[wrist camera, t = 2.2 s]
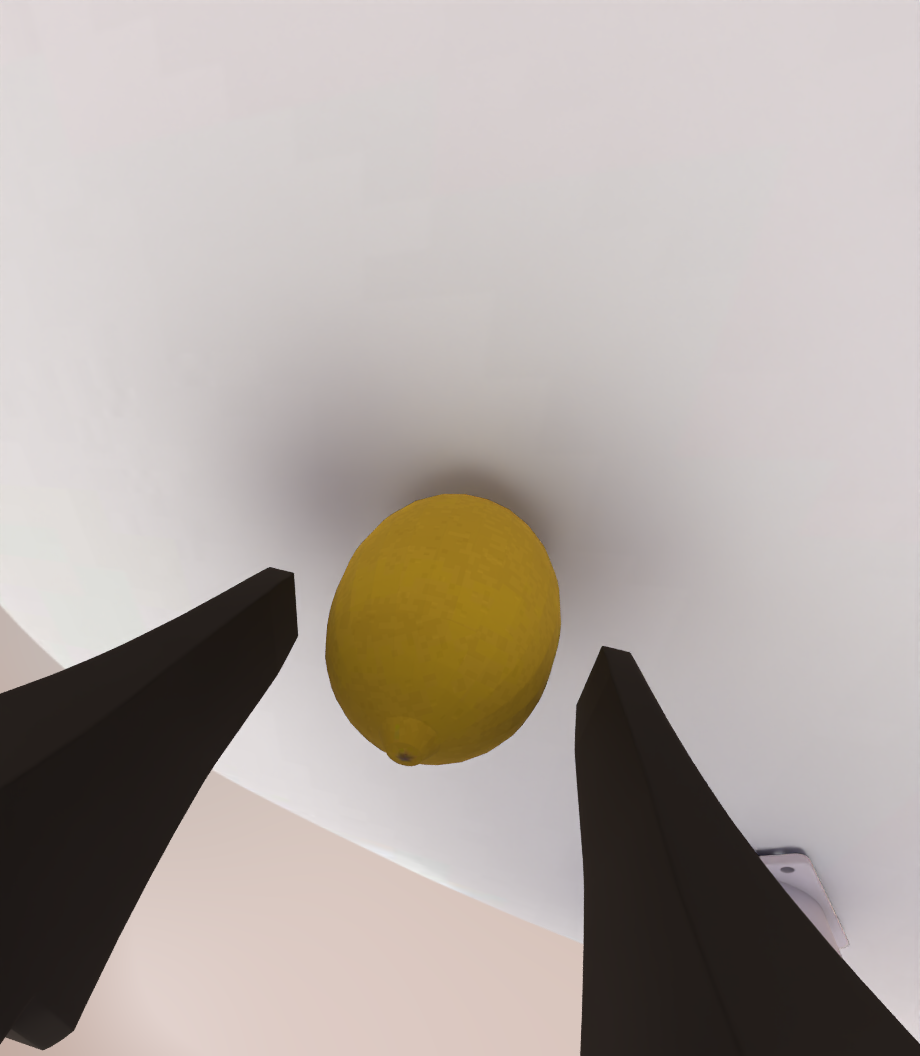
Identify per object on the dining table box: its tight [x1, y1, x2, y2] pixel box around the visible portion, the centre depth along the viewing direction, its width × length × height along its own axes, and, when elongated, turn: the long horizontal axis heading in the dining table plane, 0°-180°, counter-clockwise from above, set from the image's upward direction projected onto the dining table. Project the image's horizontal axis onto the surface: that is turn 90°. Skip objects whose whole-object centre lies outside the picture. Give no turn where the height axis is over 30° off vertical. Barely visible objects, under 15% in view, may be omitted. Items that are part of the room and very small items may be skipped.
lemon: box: [325, 494, 561, 766], centre depth 11 cm, size 6×6×8 cm
